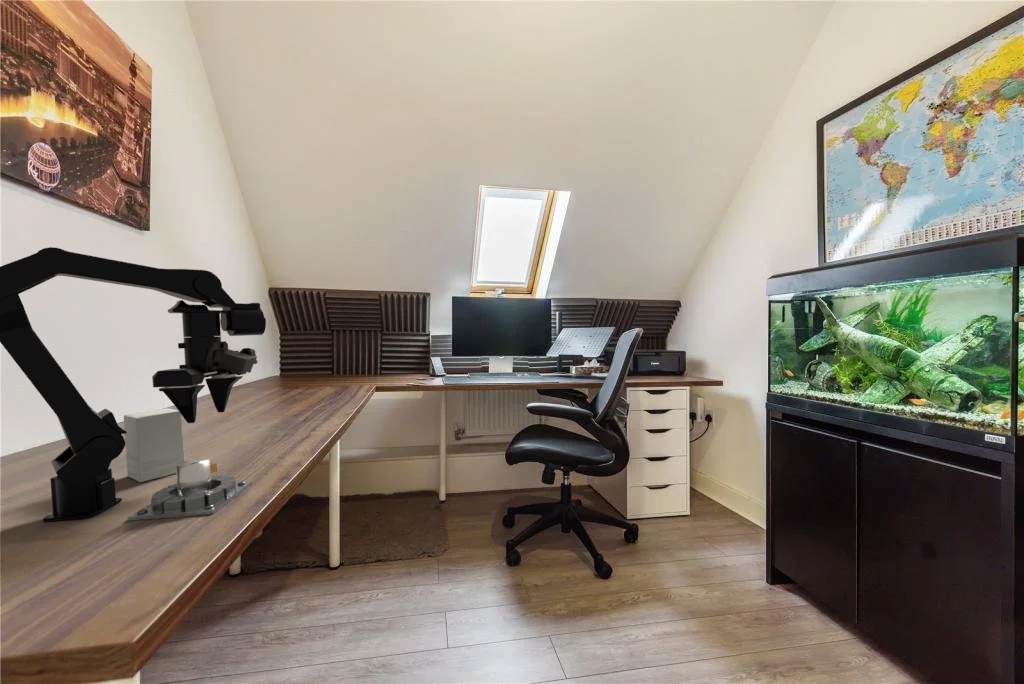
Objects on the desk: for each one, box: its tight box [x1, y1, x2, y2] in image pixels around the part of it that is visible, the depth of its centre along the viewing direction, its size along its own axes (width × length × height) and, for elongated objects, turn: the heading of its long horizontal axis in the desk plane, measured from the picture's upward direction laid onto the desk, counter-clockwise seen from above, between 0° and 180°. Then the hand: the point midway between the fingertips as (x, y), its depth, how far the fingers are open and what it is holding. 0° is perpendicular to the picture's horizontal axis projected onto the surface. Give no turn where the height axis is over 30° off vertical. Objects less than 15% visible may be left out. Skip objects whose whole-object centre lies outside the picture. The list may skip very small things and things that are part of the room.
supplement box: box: [123, 407, 185, 483], centre depth 81 cm, size 7×7×13 cm
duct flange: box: [126, 475, 253, 521], centre depth 68 cm, size 12×12×2 cm
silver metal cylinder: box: [175, 457, 218, 497], centre depth 68 cm, size 5×4×6 cm
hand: (207, 417), depth 78 cm, fingers open, 9 cm apart
